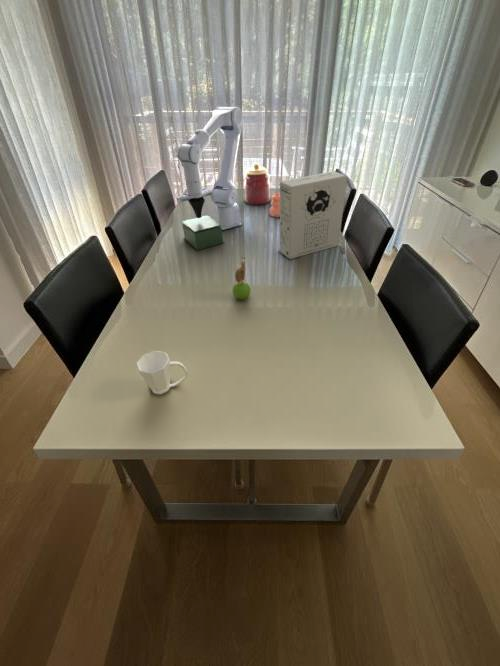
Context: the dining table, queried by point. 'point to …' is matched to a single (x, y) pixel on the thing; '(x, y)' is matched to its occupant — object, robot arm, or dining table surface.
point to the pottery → (275, 205)
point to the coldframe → (203, 234)
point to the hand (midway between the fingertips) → (198, 217)
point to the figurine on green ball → (241, 283)
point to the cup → (158, 371)
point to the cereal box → (311, 213)
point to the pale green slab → (197, 220)
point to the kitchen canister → (257, 185)
